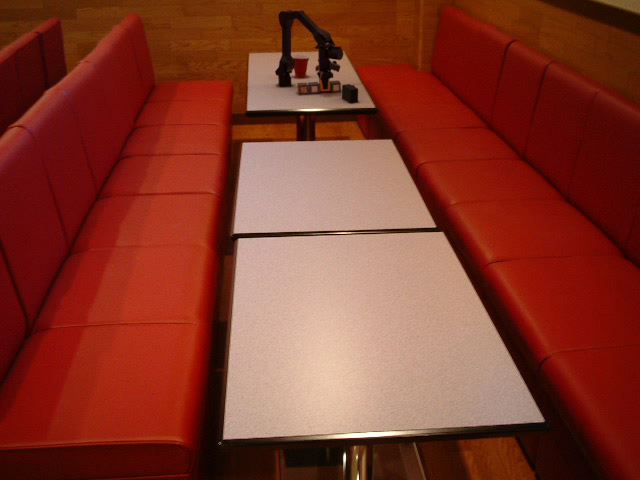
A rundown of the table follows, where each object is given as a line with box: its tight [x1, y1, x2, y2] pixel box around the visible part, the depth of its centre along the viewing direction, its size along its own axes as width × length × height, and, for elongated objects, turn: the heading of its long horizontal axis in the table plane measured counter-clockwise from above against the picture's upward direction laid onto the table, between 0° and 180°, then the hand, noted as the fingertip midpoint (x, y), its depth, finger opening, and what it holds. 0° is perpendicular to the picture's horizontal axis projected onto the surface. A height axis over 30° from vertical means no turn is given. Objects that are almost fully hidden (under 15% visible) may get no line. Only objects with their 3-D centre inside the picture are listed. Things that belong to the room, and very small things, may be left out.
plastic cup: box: [291, 54, 310, 79], centre depth 365 cm, size 11×11×12 cm
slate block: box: [307, 81, 320, 95], centre depth 336 cm, size 5×5×5 cm
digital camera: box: [341, 83, 359, 104], centre depth 321 cm, size 10×5×7 cm, turn 23°
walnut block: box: [296, 82, 309, 96], centre depth 335 cm, size 5×5×5 cm
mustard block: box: [318, 78, 331, 92], centre depth 336 cm, size 5×5×5 cm
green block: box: [329, 79, 342, 94], centre depth 338 cm, size 5×5×5 cm
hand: (324, 87), depth 337 cm, fingers closed on mustard block, 5 cm apart
